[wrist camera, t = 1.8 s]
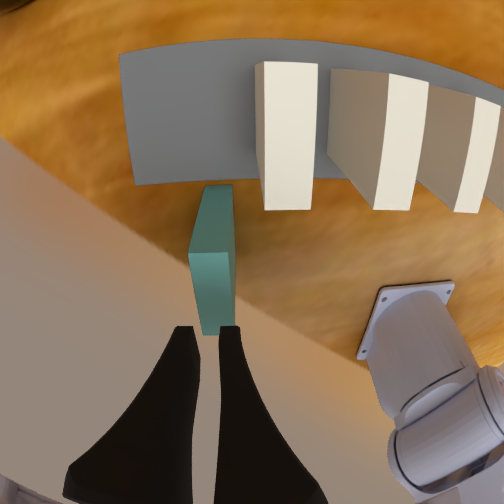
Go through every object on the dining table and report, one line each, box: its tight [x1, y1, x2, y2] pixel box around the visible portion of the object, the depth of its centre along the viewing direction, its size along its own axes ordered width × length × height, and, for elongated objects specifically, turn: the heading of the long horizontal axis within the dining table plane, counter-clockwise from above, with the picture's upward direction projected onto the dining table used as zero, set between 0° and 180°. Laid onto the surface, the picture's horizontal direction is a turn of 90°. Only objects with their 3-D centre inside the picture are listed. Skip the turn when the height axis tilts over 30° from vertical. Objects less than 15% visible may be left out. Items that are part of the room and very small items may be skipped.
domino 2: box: [255, 61, 318, 210], centre depth 12 cm, size 2×5×7 cm, turn 1°
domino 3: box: [327, 68, 429, 210], centre depth 12 cm, size 2×5×7 cm, turn 1°
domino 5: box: [483, 108, 504, 212], centre depth 12 cm, size 2×5×7 cm, turn 1°
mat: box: [119, 39, 504, 186], centre depth 15 cm, size 8×28×1 cm, turn 91°
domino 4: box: [416, 84, 501, 213], centre depth 12 cm, size 2×5×7 cm, turn 1°
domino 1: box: [188, 184, 236, 335], centre depth 16 cm, size 2×5×7 cm, turn 1°
